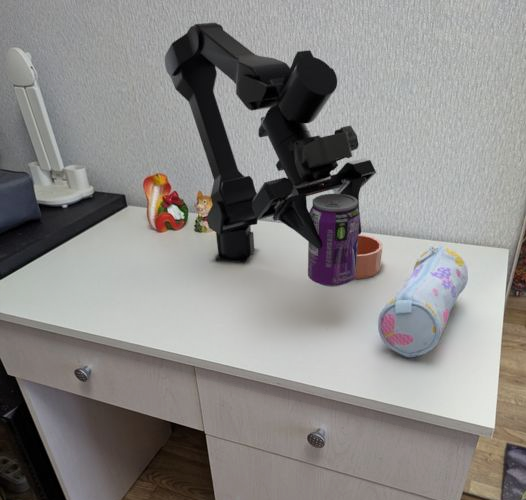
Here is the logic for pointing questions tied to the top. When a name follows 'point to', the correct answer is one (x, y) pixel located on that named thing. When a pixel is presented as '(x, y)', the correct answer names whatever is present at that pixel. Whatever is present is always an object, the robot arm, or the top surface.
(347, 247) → the beverage can
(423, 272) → the pencil case
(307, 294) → the top surface
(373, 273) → the can holder
